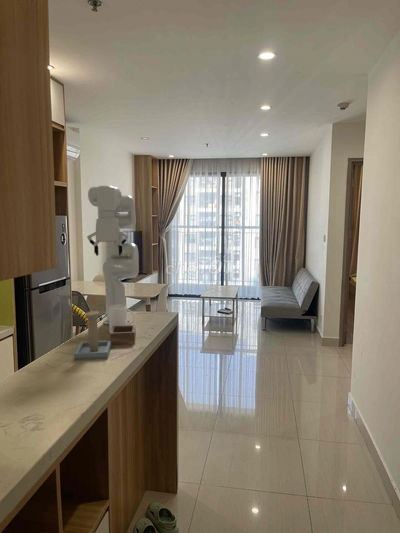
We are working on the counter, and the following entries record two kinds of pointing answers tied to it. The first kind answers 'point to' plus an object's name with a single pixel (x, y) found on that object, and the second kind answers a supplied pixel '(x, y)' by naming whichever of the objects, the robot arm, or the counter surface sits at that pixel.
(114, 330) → the holder
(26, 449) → the counter surface
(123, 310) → the mug
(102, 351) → the tray
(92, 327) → the handle
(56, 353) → the counter surface
